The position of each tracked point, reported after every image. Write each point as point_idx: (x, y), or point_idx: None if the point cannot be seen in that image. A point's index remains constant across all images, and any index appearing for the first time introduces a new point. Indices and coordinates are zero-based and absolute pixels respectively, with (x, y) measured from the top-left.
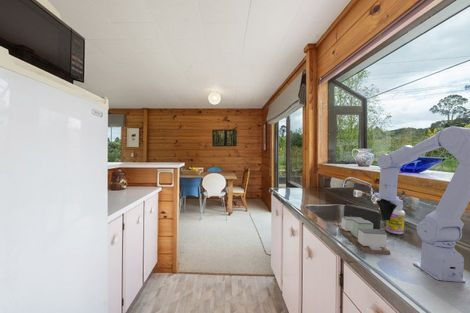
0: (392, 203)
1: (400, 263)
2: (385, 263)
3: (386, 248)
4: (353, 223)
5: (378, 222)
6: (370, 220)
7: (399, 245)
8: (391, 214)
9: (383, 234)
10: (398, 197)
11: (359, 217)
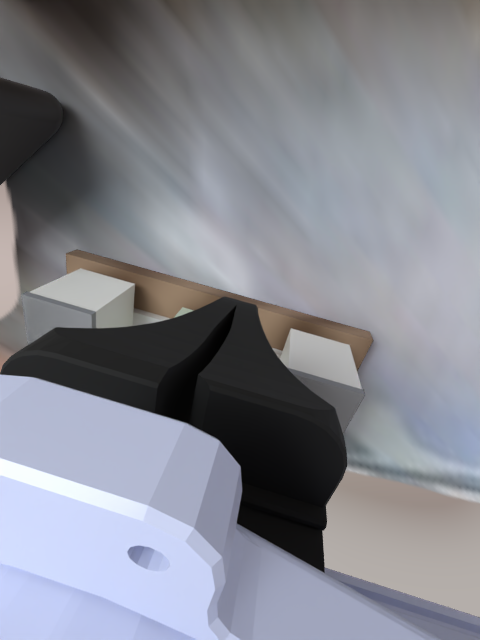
0: (312, 542)
1: (456, 363)
2: (429, 417)
3: (346, 334)
4: None
5: (10, 108)
6: None
7: (287, 160)
8: (263, 333)
9: (353, 406)
10: (223, 577)
11: (27, 304)
